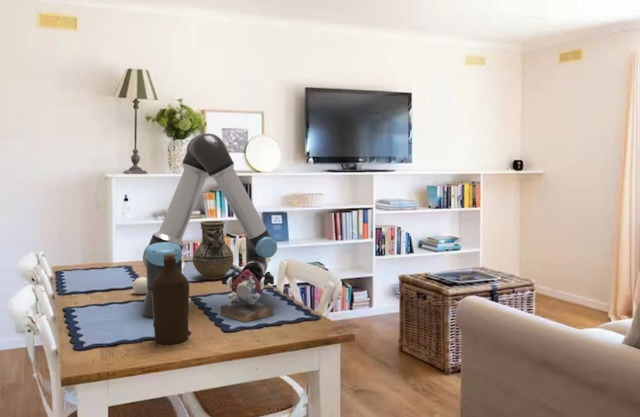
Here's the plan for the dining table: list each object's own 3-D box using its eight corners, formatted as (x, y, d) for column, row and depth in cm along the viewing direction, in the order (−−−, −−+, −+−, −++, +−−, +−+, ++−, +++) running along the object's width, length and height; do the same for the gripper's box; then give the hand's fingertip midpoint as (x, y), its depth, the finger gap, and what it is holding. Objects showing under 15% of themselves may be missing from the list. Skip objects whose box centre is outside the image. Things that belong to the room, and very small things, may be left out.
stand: (244, 322, 187) (244, 313, 187) (220, 314, 196) (220, 305, 196) (272, 315, 195) (272, 306, 195) (249, 308, 204) (249, 299, 204)
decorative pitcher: (190, 274, 265) (189, 220, 263) (228, 271, 271) (228, 218, 269) (196, 284, 245) (195, 225, 243) (238, 281, 251) (237, 223, 249)
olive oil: (195, 335, 173) (194, 252, 171) (181, 346, 163) (179, 258, 161) (162, 333, 175) (160, 251, 173) (146, 344, 165) (143, 257, 163)
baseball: (141, 291, 232) (141, 274, 231) (155, 293, 228) (154, 276, 228) (128, 294, 226) (128, 277, 225) (142, 296, 222) (141, 279, 222)
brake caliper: (269, 291, 200) (262, 267, 192) (261, 316, 192) (254, 293, 184) (238, 289, 202) (230, 266, 195) (229, 315, 194) (220, 291, 187)
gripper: (284, 282, 213) (279, 296, 191) (221, 282, 213) (210, 296, 191) (284, 262, 212) (279, 273, 190) (221, 262, 212) (209, 274, 190)
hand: (244, 285), depth 191 cm, fingers closed on brake caliper, 10 cm apart
